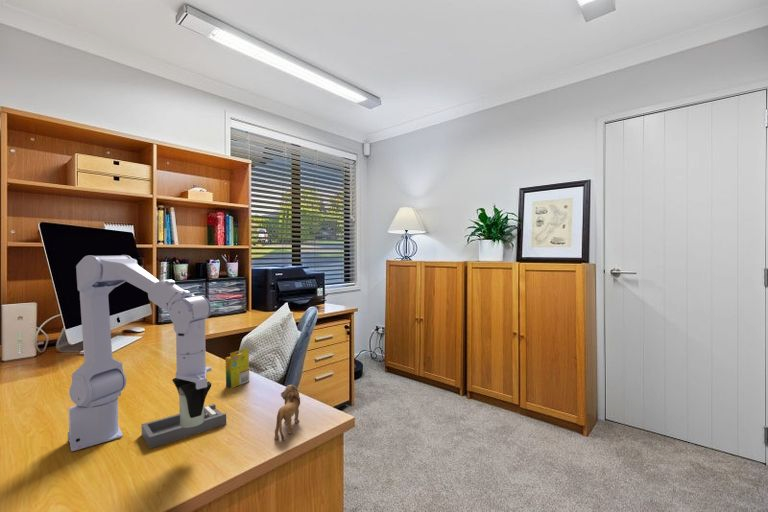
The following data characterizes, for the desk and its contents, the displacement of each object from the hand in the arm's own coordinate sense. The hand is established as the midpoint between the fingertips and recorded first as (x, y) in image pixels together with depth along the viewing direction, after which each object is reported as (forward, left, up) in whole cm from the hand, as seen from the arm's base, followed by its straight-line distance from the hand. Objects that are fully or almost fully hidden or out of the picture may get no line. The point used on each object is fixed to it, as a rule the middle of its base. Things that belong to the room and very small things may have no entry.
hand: (191, 412), depth 81 cm
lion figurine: (+21, -4, -9) cm, 23 cm away
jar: (0, 0, -2) cm, 2 cm away
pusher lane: (+2, +13, -9) cm, 16 cm away
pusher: (+6, +13, -8) cm, 16 cm away
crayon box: (+24, +35, -9) cm, 43 cm away
